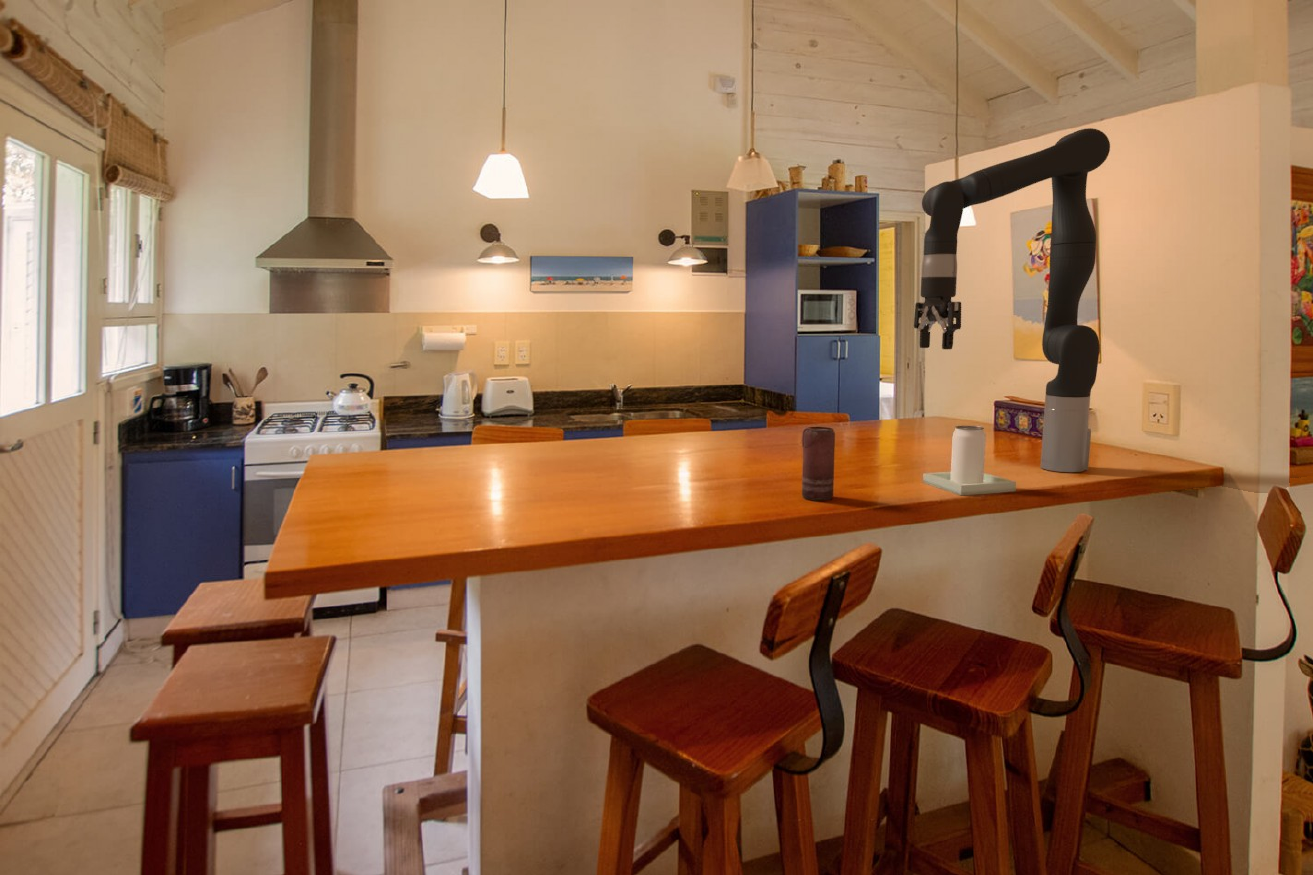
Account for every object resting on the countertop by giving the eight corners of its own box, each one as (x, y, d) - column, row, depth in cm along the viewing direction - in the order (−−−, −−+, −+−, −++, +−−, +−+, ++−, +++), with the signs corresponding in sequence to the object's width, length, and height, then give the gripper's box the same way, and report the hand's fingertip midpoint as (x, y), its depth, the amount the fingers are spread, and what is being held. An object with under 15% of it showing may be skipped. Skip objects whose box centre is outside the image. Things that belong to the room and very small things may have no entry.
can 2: (977, 481, 174) (980, 425, 172) (987, 487, 168) (990, 429, 166) (946, 480, 174) (949, 425, 173) (954, 487, 168) (957, 429, 166)
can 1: (797, 494, 164) (798, 426, 162) (828, 494, 165) (829, 425, 163) (805, 501, 158) (806, 430, 156) (837, 501, 159) (839, 430, 157)
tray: (974, 478, 179) (975, 470, 179) (1015, 491, 167) (1016, 481, 166) (922, 482, 176) (923, 473, 175) (960, 495, 163) (961, 485, 163)
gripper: (973, 274, 176) (969, 349, 179) (934, 277, 190) (931, 347, 192) (943, 274, 174) (940, 350, 177) (906, 277, 188) (903, 347, 190)
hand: (935, 348), depth 185 cm, fingers open, 8 cm apart
